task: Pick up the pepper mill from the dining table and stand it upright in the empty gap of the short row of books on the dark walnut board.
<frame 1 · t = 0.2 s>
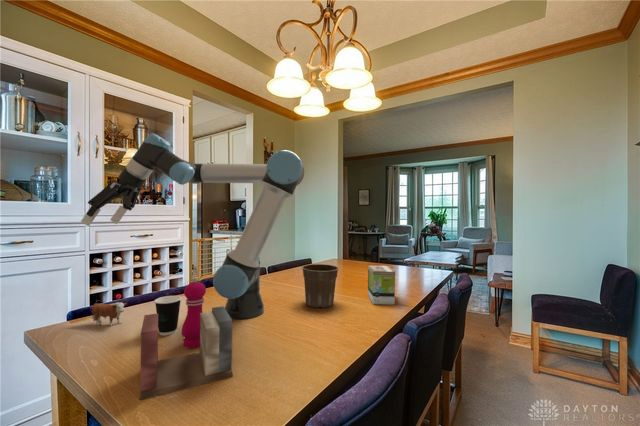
hand: (100, 222, 101), 36 cm above the table, tool tilted 35°, fingers open, 13 cm apart
dixie cup: (167, 333, 95), on the table
pepper mill: (194, 344, 87), on the table
plant pot: (320, 304, 126), on the table
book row: (187, 372, 71), on the table
tea box: (380, 300, 133), on the table
bull figurine: (109, 325, 101), on the table
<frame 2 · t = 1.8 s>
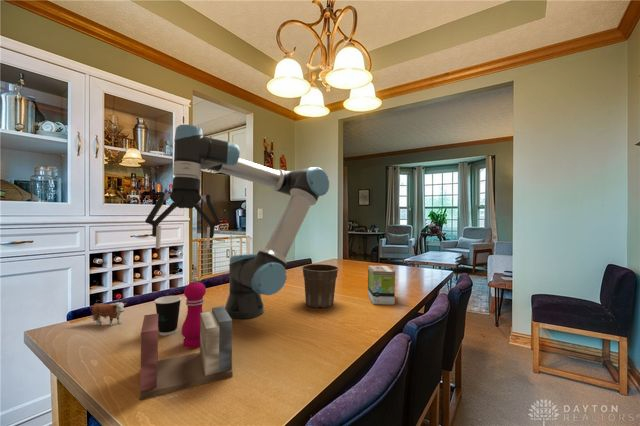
hand: (183, 248, 86), 29 cm above the table, tool pointing down, fingers open, 13 cm apart
nothing on the table moved.
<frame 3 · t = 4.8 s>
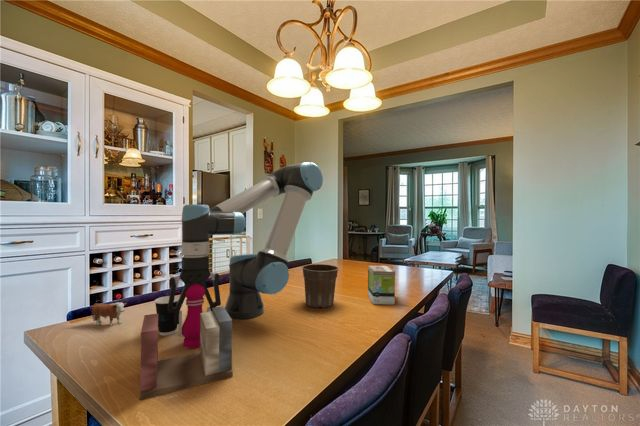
hand: (194, 331, 87), 4 cm above the table, tool pointing down, fingers closed on pepper mill, 7 cm apart
pepper mill: (194, 344, 87), on the table, touching gripper
everything else where it was.
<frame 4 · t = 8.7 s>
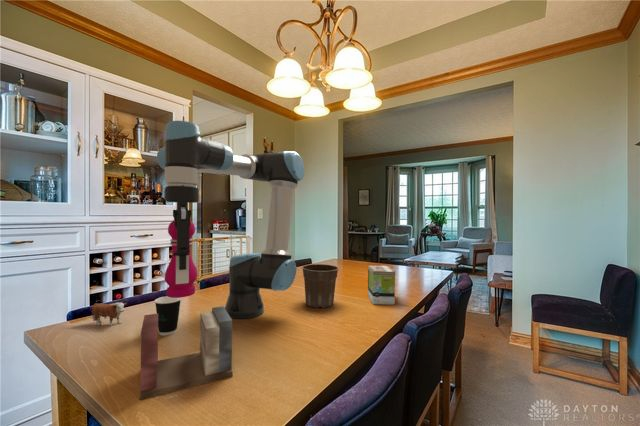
hand: (181, 279, 71), 23 cm above the table, tool pointing down, fingers closed on pepper mill, 7 cm apart
pepper mill: (181, 295, 71), point 19 cm above the table, touching gripper
everything else where it was.
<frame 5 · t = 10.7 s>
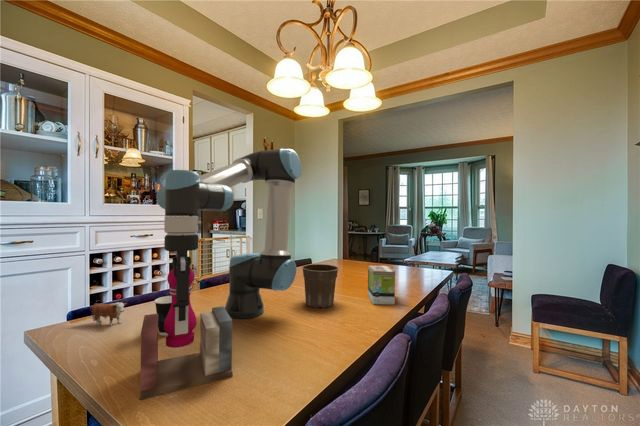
hand: (180, 327, 70), 11 cm above the table, tool pointing down, fingers closed on pepper mill, 7 cm apart
pepper mill: (180, 343, 70), point 8 cm above the table, touching gripper
everything else where it was.
when the fingers open (6 cm above the table, at t = 12.2 s): pepper mill drops 1 cm, resting on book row.
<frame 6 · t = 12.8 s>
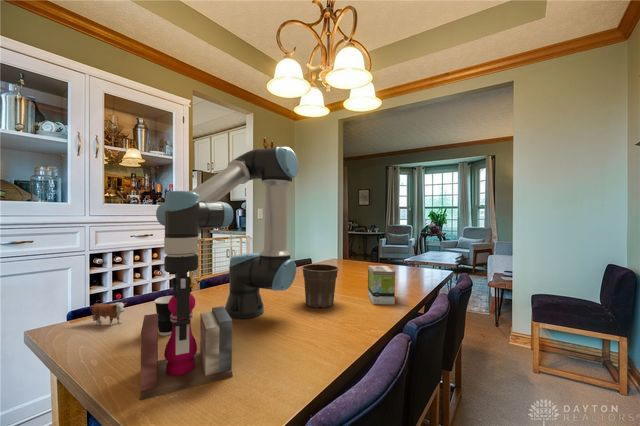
hand: (180, 341, 71), 8 cm above the table, tool pointing down, fingers open, 13 cm apart
pepper mill: (180, 369, 70), point 1 cm above the table, touching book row
everything else where it was.
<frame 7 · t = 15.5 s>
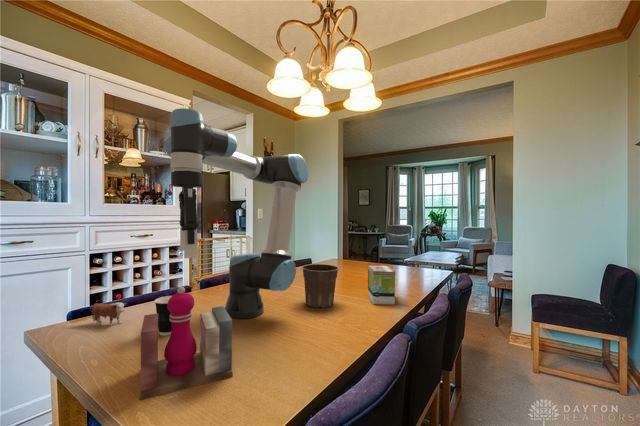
hand: (188, 254, 75), 29 cm above the table, tool pointing down, fingers open, 13 cm apart
nothing on the table moved.
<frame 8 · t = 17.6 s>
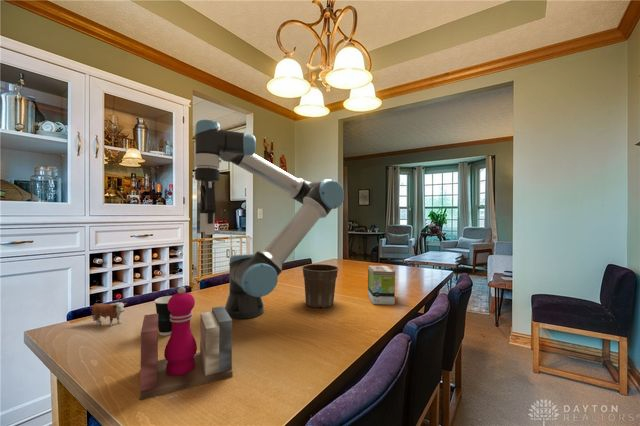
hand: (206, 233, 95), 33 cm above the table, tool pointing down, fingers open, 13 cm apart
nothing on the table moved.
at the end: pepper mill 0.0 cm from the target spot on the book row, point 1.0 cm above the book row's base; pepper mill tilted 0°; the gripper is holding nothing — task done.
